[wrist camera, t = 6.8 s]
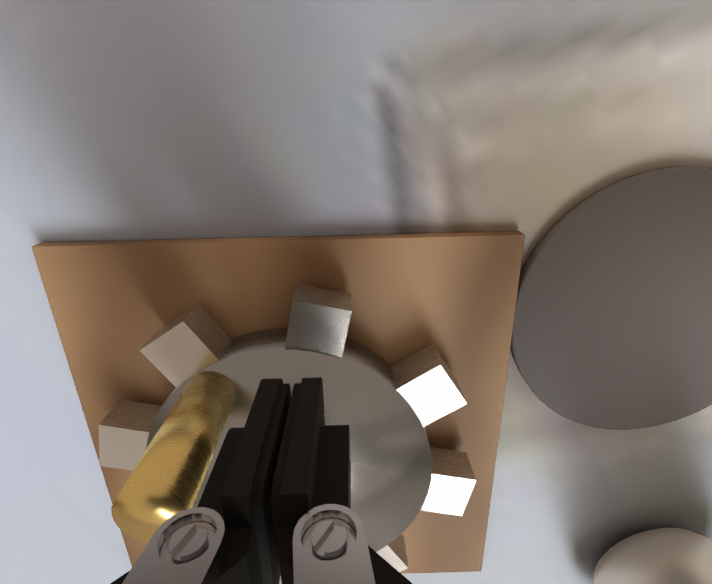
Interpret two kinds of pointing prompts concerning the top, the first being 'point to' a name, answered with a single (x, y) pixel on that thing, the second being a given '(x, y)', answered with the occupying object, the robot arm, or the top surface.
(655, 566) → the plastic bottle
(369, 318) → the base plate
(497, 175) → the top surface
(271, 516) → the robot arm
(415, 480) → the sprocket
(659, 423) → the pad
